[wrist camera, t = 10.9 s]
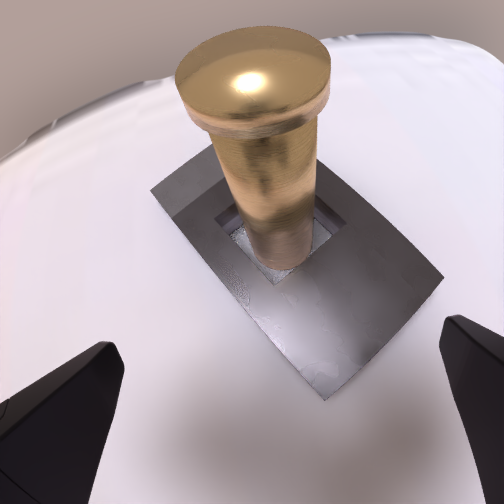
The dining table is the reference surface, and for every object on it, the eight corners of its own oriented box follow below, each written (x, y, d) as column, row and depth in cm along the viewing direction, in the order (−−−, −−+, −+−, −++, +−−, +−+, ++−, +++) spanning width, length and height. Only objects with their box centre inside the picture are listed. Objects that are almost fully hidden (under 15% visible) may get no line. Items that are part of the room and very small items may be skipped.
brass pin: (332, 243, 21) (363, 60, 8) (278, 291, 20) (236, 137, 7) (284, 197, 22) (260, 15, 9) (232, 239, 22) (150, 72, 9)
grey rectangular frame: (426, 290, 18) (444, 277, 16) (320, 396, 17) (324, 400, 14) (251, 131, 25) (245, 106, 22) (157, 200, 24) (141, 179, 21)
